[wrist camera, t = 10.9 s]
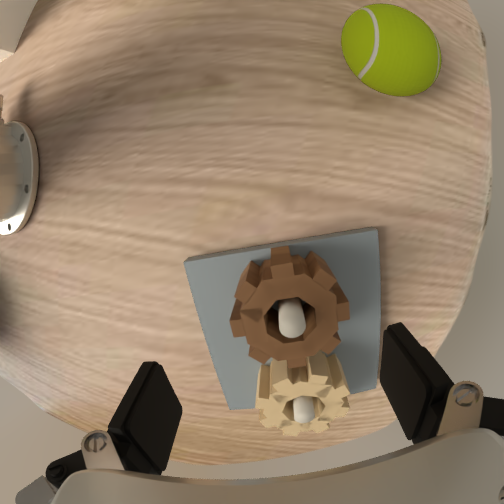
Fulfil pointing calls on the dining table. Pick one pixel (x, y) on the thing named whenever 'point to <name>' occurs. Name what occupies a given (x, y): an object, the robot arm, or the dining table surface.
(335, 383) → the gear board
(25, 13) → the milk
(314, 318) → the walnut gear
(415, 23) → the tennis ball
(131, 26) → the dining table surface
